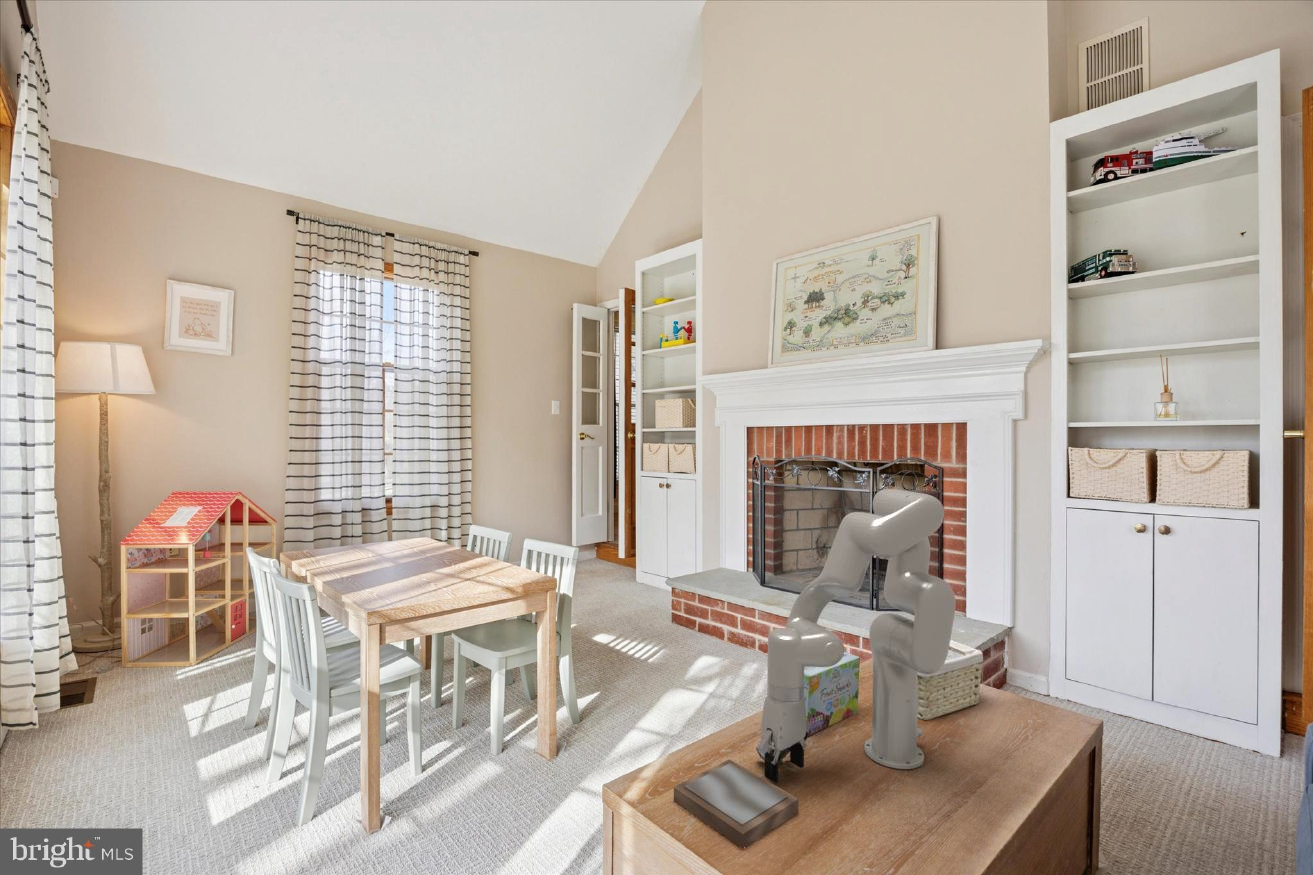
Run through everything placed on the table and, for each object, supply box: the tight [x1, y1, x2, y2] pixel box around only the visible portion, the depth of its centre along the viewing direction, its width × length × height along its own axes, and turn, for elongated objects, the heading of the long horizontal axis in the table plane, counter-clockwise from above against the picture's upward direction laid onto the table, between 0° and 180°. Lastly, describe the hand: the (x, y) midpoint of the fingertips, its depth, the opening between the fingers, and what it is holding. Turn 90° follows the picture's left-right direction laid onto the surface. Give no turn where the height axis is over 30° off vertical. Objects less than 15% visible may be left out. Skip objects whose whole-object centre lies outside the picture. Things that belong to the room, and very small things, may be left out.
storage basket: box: [917, 639, 984, 721], centre depth 166 cm, size 24×16×15 cm
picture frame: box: [673, 758, 800, 850], centre depth 120 cm, size 16×18×3 cm
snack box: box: [804, 651, 861, 737], centre depth 155 cm, size 21×6×15 cm, turn 129°
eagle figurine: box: [755, 744, 798, 772], centre depth 132 cm, size 8×7×9 cm
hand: (784, 771), depth 129 cm, fingers closed on eagle figurine, 7 cm apart
